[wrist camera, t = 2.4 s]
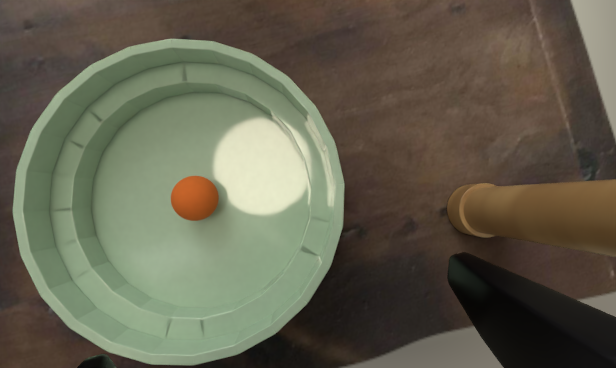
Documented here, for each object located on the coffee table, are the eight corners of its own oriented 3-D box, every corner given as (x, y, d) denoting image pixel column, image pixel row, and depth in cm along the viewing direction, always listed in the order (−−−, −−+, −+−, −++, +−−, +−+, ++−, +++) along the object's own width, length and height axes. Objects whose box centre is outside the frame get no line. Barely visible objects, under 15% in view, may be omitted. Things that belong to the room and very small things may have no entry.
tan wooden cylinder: (495, 235, 23) (788, 289, 10) (446, 233, 23) (670, 285, 9) (496, 185, 24) (784, 165, 10) (447, 183, 24) (668, 160, 10)
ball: (222, 220, 22) (210, 223, 19) (179, 218, 22) (161, 221, 19) (224, 178, 22) (213, 175, 19) (182, 176, 22) (164, 172, 19)
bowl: (329, 335, 23) (338, 369, 18) (59, 328, 22) (-2, 361, 17) (339, 77, 24) (349, 48, 19) (80, 62, 23) (28, 29, 18)
